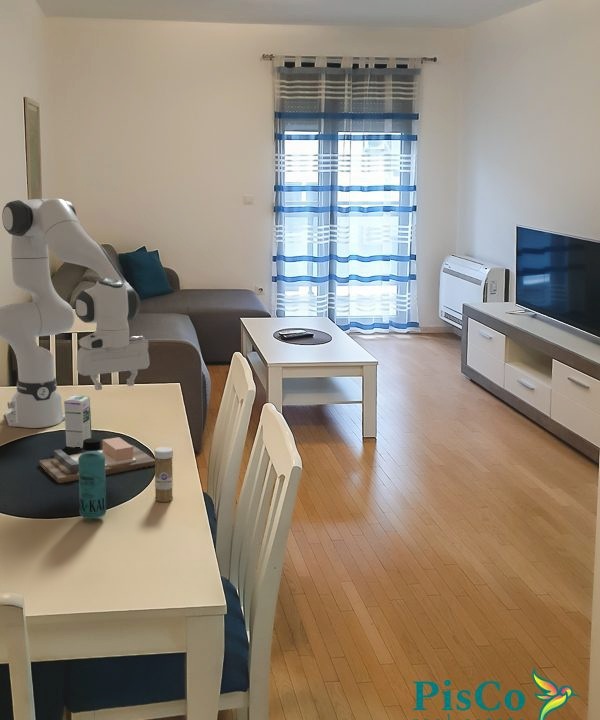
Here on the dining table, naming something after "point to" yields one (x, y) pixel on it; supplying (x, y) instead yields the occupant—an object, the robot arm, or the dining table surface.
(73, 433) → the syrup box
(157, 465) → the sprinkles bottle
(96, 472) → the beverage bottle
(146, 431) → the dining table surface
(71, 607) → the dining table surface
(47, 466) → the board
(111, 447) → the pink rectangular block
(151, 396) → the dining table surface
